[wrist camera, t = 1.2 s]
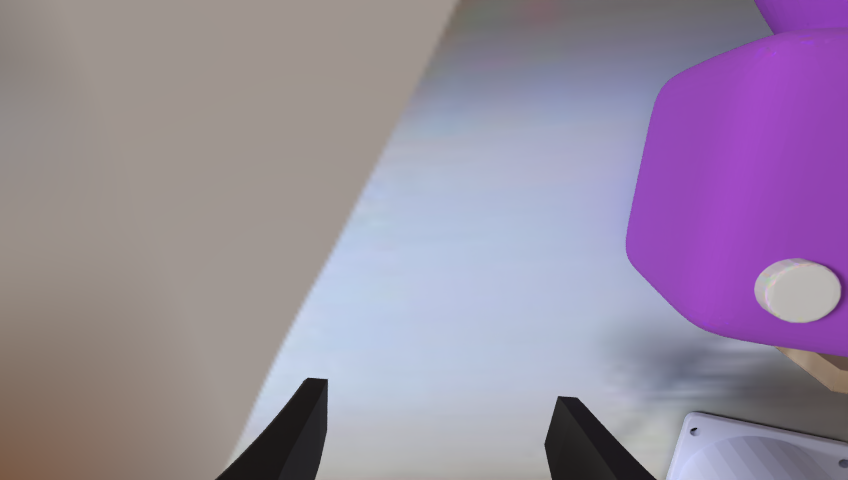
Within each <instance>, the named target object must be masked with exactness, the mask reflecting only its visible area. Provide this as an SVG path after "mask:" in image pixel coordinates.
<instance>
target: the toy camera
mask: <svg viewBox="0 0 848 480" xmlns="http://www.w3.org/2000/svg"><path fill="white" fill-rule="evenodd" d="M754 1H755V3H756V5H757V7H758V8H759V10H760V12H761V14H762V16H763V17H764V19H765V20H766V22H767V24H768V25H769V27H770V28H771V30H772V32H773V33H774V35H772V36H768V37H765V38H762V39H759V40H757V41H754V42H751V43H748V44H745V45H743V46H740V47H738V48H735V49H733V50H730V51H728V52H725V53H723V54H720V55H718V56H715V57H713V58H711V59H708V60H706V61H704V62H702V63H700V64H698V65H695V66H693V67H691V68H689V69H687V70H685V71H683V72H681V73H679V74H677V75H676V76H674V77H673V78H671V79H670V80H669V81H668V82H667V83H666V84H665V85H664V86H663V87H662V89H661V91H660V93H659V94H658V96H657V99H656V101H655V104H654V108H653V112H652V115H651V119H650V123H649V128H648V133H647V137H646V142H645V147H644V151H643V156H642V161H641V165H640V170H639V175H638V179H637V184H636V189H635V194H634V198H633V203H632V208H631V213H630V218H629V223H628V229H627V236H626V253H627V256H628V259H629V261H630V262H631V264H632V265H633V266H634V268H635V269H636V270H637V271H638V272H639V273H640V274H641V275H642V276H643V277H644V278H645V279H646V280H647V281H648V282H649V283H650V284H651V285H652V286H653V287H654V288H655V289H656V290H657V291H658V292H659V293H660V294H661V295H662V296H663V297H664V298H665V299H666V300H667V301H668V302H669V304H670V305H672V306H673V307H674V308H675V309H676V310H677V311H678V312H679V313H680V314H681V315H682V316H684V317H685V318H686V319H687V320H689V321H690V322H691V323H693V324H695V325H696V326H698V327H700V328H702V329H704V330H706V331H708V332H711V333H714V334H717V335H720V336H724V337H729V338H733V339H738V340H742V341H748V342H754V343H759V344H765V345H771V346H777V347H784V348H790V349H797V350H803V351H810V352H817V353H823V354H830V355H836V356H843V357H848V0H754Z"/></svg>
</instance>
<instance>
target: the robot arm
mask: <svg viewBox="0 0 848 480" xmlns="http://www.w3.org/2000/svg"><path fill="white" fill-rule="evenodd" d="M327 402H328V379H318V378H307V379H306V380H304V381H303V383H302V384H301V386H300V387H299V388H298V390H297V391H296V392H295V394H294V395H293V396H292V398H291V399H290V400H289V401H288V403H287V404H286V405H285V406H284V408H283V409H282V410H281V411H280V412H279V414H278V415H277V416H276V417H275V418H274V419H273V421H272V422H271V423H270V424H269V425H268V426H267V428H266V429H265V430H264V431H263V432H262V433H261V434H260V435H259V436H258V438H257V439H256V440H255V441H254V442H253V443H252V444H251V445H250V446H249V447H248V448H247V449H246V450H245V451H244V452H243V453H242V454H241V455H240V456H239V457H238V458H237V459H236V460H235V461H234V462H233V463H232V464H231V465H230V466H229V467H228V468H227V469H226V470H225V471H224V472H223V473H222V474H221V475H219V476H218V477H217V478H216V479H215V480H315V477H316V474H317V471H318V468H319V464H320V460H321V456H322V451H323V447H324V442H325V437H326V433H327ZM692 428H697V430H695V431H690V430H691V429H692ZM544 445H545V450H546V455H547V459H548V464H549V468H550V473H551V477H552V480H656V479H655V478H654V477H653V476H652V475H651V474H650V473H649V472H648V471H647V470H646V469H645V468H644V467H643V466H642V465H641V464H640V463H639V462H638V461H637V460H636V459H635V458H634V457H633V456H632V455H631V454H630V453H629V452H628V451H627V450H626V449H625V448H624V447H623V446H622V445H621V444H620V443H619V442H618V441H617V440H616V439H615V438H614V436H613V435H612V434H611V433H610V432H609V431H608V430H607V429H606V428H605V427H604V426H603V425H602V424H601V423H600V421H599V420H598V419H597V418H596V417H595V416H594V415H593V414H592V413H591V412H590V411H589V410H588V408H587V407H586V406H585V405H584V404H583V403H582V402H581V401H580V400H579V399H578V398H576V397H562V396H558V398H557V402H556V405H555V409H554V412H553V416H552V419H551V423H550V426H549V430H548V433H547V437H546V440H545V444H544ZM843 459H844V460H843ZM840 460H843V461H842V462H839V461H840ZM666 480H848V443H845V442H841V441H836V440H831V439H826V438H821V437H816V436H811V435H806V434H801V433H797V432H792V431H787V430H782V429H777V428H772V427H767V426H762V425H757V424H753V423H748V422H743V421H738V420H733V419H728V418H723V417H718V416H714V415H709V414H704V413H699V412H692V413H689V414H688V415H687V416H686V417H685V420H684V423H683V426H682V429H681V433H680V436H679V439H678V442H677V445H676V449H675V452H674V455H673V458H672V462H671V465H670V468H669V471H668V474H667V478H666Z"/></svg>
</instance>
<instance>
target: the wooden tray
mask: <svg viewBox="0 0 848 480" xmlns="http://www.w3.org/2000/svg"><path fill="white" fill-rule="evenodd" d="M774 347H776V348H777V349H778V350H779V351H781V352H782V353H783V354H785V355H786V356H787V357H788V358H790V359H791V360H792V361H794V362H795V363H796V364H798V365H799V366H800V367H801V368H803V369H804V370H805V371H807V372H808V373H809V374H810V375H812V376H813V377H814V378H816V379H817V380H818V381H820V382H821V383H822V384H823V385H825V386H826V387H827V388H829V389H830V390H831V391H835V392H840V393H845V394H848V357H843V356H836V355H830V354H823V353H817V352H810V351H803V350H797V349H790V348H784V347H777V346H774Z"/></svg>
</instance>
